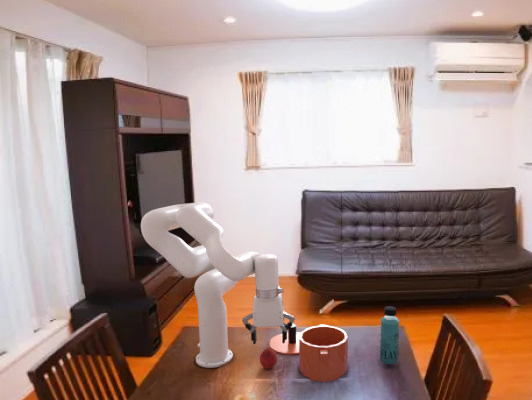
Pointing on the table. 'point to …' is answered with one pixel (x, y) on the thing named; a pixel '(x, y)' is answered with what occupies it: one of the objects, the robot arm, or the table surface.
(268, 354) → the onion
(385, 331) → the beverage bottle
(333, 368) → the dutch oven
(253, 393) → the table surface
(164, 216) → the robot arm
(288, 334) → the lid
